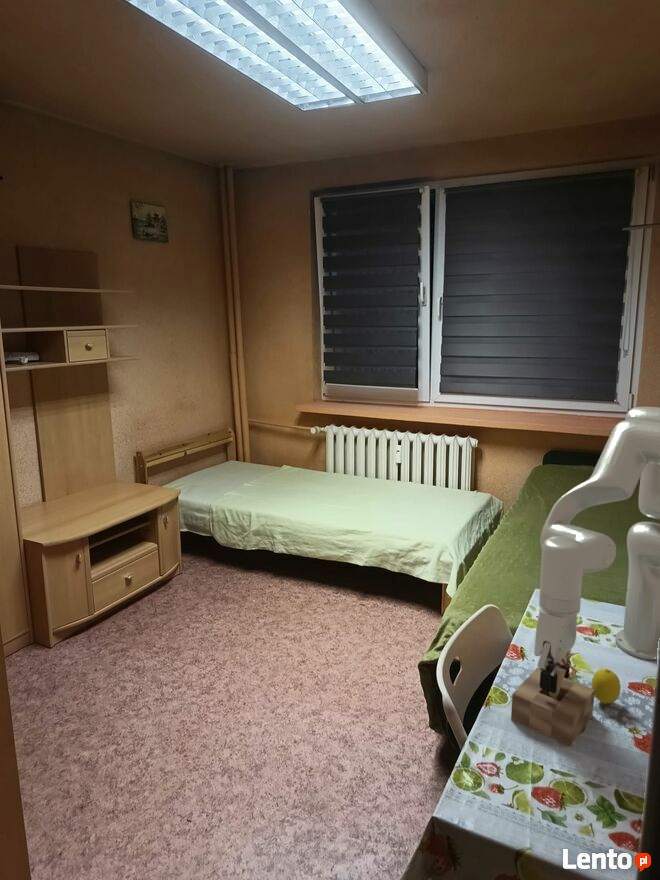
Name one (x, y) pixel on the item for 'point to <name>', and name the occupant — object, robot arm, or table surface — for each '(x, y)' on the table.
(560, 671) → the ice cream cone
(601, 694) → the lemon
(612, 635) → the table surface
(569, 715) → the cone stand
